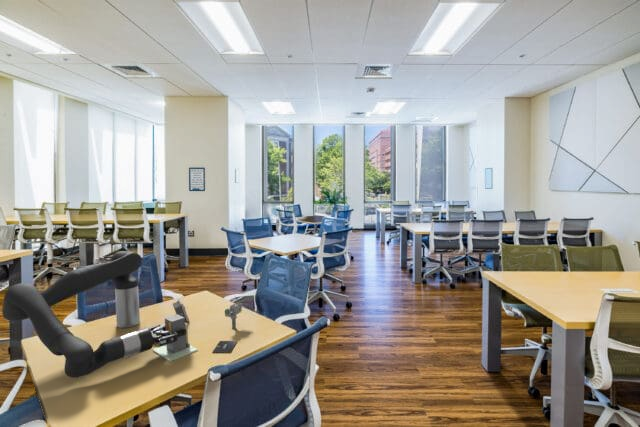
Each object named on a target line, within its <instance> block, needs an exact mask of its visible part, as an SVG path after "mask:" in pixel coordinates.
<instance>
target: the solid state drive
mask: <svg viewBox="0 0 640 427" xmlns="http://www.w3.org/2000/svg"><path fill="white" fill-rule="evenodd" d="M237 343H238V341H237V340H220V341H218V343H217V344H216V346H215V348H214V349H213V351H212V352H211V353H212V354H231V353H232V352H233V351H234V348H235V346H236V344H237Z"/></svg>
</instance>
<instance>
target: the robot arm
mask: <svg viewBox="0 0 640 427" xmlns="http://www.w3.org/2000/svg"><path fill="white" fill-rule="evenodd" d="M142 262H143V258H142V256H141V255H140V254H139V253H137V252H134V251H127V250H123V251H122V250H120V251H117V252H115V253H114V254H113V255H112V257H111V260H110V261H108V262H101V263H95V264H89V265H84V266H82V267H79V268H76V269H73V270H71V271H69V272H67V273H65V274H64V275H62V276H61V277H60V278H58V279H57V280H56V281H55V282H53V283H52V284H50V286H49V287H47V288H46V289H45V290H43V291H40V290H39V288H38V287H37V286H35V285H34V284H32V283H28V282H27V283H26V282H20V283H16V284H13V285H10V286H9V287H8V288H7V290H5V293H4V296H3V302H2V308H1V309H2V310H1V311H2V313H1V314H2V317H3V318H4V319H5V320H7V321H11V322H19V321H25V320H27V319H29V320H30V322H31V324H32V327H33V329H34V330H35V333H36V335H37V337H38V338H39V340H40V341H41V343H42V344H43V345H44V346H45V347H46V348H47V349H48V350H49V351H50V353H51V354H53V355H54V356H56V357H57V356H58V357H59V356H64V358H65V360H64V361H65V362H64V368H63V371H64V373H65V375H66V376H67V377H69V378H75V379H76V378H81V377H82V378H83V377H85V376H87V375H89V374H92V373H94V372H95V371H97V370H99V369H101V368H102V367H104V366H105V365H107V364H109V363H111V362H115V361H117V360H121V359H124V358H127V357H132V356H134V355H138V354H141V353H143V352H144V353H145V352H147V351H150V350H152V348H153V346H154V344H160V345H159V346H160V347H162V346H165V345H166V344H169V343H172V342H175V341H177V338H178V337H181V336H184V335H186V329H181V330H178V331H176V332H170V331H165V326H164V325H162V326H161V325H160V324H156V325H153V326H149V327H150V328H145V329H142V328H140V329H141V330H140V329H137V330H134V331H132V332H128V333H125V334H123V335H120V336H117V337H113V338H111V339H107V340H105V341H102V342H101V343H100V345H99V346H98V348H97V349H95V350H94V349H93V347H92V345H91V344H90V343H89V342H88V341H86V340H84V339H82V338H81V337H78V336H76V335H74V333H73V332H72V331H70V329H68V328H67V327H66V326H65V324H64V323H63V322H62V321H61V320H60V319H59V317H57V315H56V314H55V313H54V311H53V310H52V308H51V307H53V306H54V305H57V304H59V303H61V302H63V301H65V300H67V299H70V298H72V297H75V296H77V295H79V294H82V293H85V292H86V291H89V290H91V289H93V288H96V287H97V286H100V285H103V284H104V283H107V282H109V281H111V280H112V283H113V285H114V294H115V295H114V296H115V298H114V299H115V314H116V315H115V318H116V320H115V321H116V328H119V329H124V328H126V329H127V328H132V327H135V326H137V325H139V324H140V323H141V318H140V317H141V316H140V298H139V292H140V291H139V280H138V278H136V277H135V276H134V275H133V274H132V273H134V272H136V271H138V269H140V268H141V265H142ZM155 328H156V329H155ZM166 334H167V336H166ZM171 334H172V335H171Z"/></svg>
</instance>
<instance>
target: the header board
mask: <svg viewBox="0 0 640 427" xmlns="http://www.w3.org/2000/svg"><path fill="white" fill-rule="evenodd" d="M185 329H186V348H187V349H184V350H181V351H179V352H176V353H172V352H170V351H169V350H167V346H166V345H163V346H160V347H156V348H153V349H152V352H154V353H155V354H157V355H158V356H160V357H162V358H163V359H165V360H166V361H167V362H171V361H174V360H177V359H180V358H183V357H185V356H188V355H189V354H192V353H196V352H198V350H199V349H197V348H196V347H194V346H192V345H191V344H190V343H189V324H188V322H187V323H186V322H185Z"/></svg>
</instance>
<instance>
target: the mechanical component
mask: <svg viewBox="0 0 640 427" xmlns="http://www.w3.org/2000/svg"><path fill="white" fill-rule="evenodd" d="M242 309H243V303H242V302H235V303H233V304H231V305H229V308H226V309H225V310H224V316H225V317H228V318H230V320H231V326H232V327H231V328H232V329H234V330H235V329H236V328H237V322H236V321H237V318H238V317H237V315H238V314H240V313H242V311H243V310H242Z"/></svg>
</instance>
